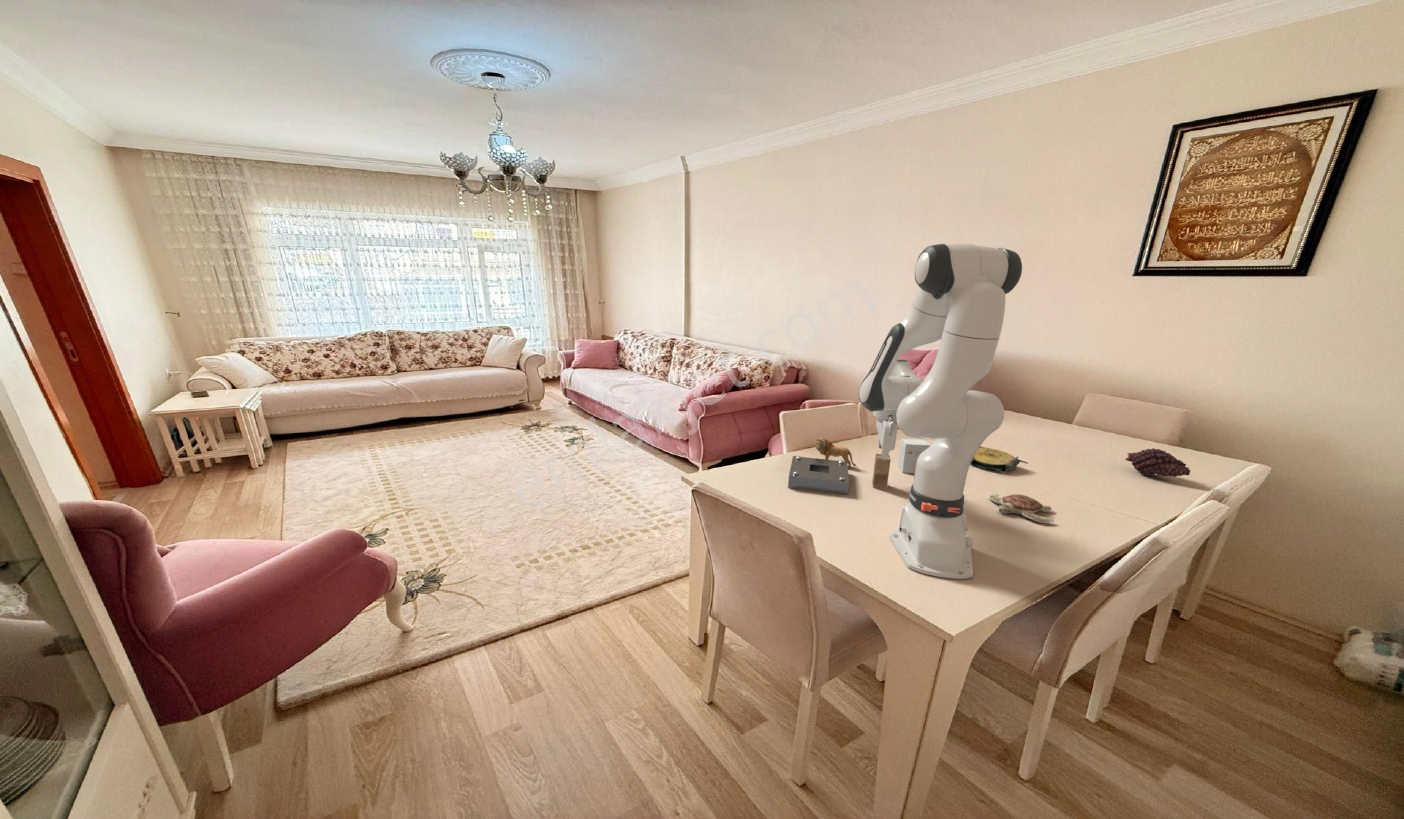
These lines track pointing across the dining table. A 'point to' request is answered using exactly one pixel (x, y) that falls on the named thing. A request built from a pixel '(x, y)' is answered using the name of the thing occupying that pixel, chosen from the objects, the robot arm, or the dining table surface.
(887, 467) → the brown wooden block
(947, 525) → the robot arm
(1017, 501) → the decorative turtle
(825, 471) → the slotted grey base block
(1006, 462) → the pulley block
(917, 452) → the small box
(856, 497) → the dining table surface
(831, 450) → the lion figurine
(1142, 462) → the pine cone
